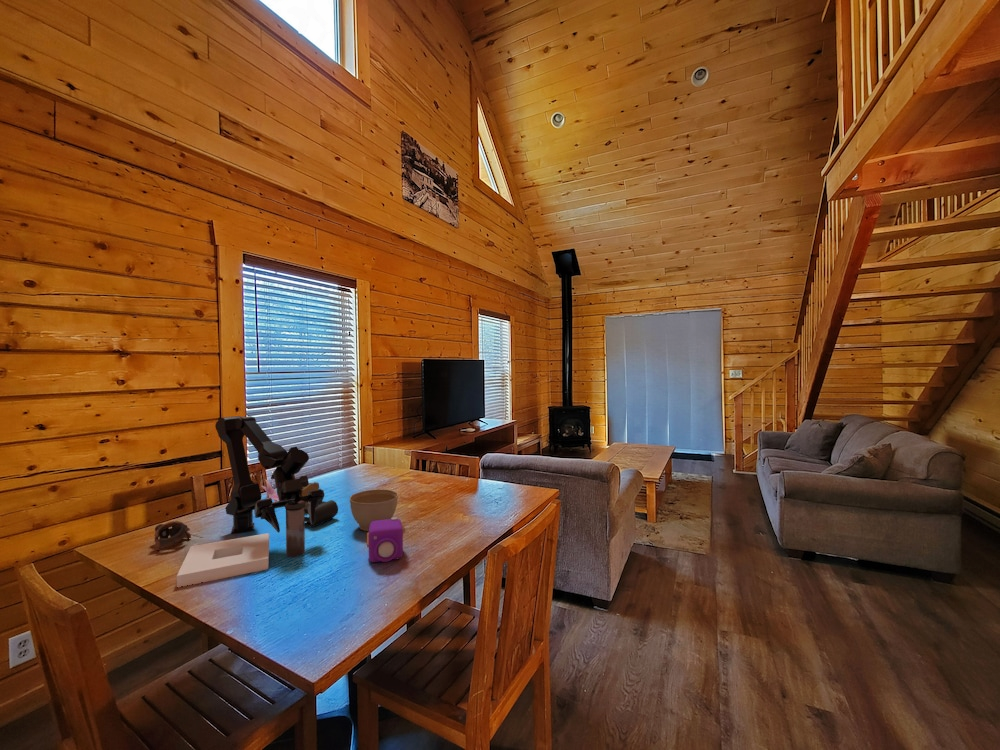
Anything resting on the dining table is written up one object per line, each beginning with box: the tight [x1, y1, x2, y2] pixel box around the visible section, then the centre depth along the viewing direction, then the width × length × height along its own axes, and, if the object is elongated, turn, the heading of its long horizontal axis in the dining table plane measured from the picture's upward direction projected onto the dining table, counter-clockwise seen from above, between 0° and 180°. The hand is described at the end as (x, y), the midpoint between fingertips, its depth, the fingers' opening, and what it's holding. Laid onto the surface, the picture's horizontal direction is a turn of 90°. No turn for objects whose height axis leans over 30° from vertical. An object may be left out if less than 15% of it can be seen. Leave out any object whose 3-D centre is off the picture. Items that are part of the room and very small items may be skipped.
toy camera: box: [366, 516, 404, 563], centre depth 119 cm, size 11×14×10 cm
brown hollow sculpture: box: [154, 520, 192, 551], centre depth 128 cm, size 12×10×8 cm
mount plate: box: [176, 532, 270, 588], centre depth 116 cm, size 20×20×3 cm
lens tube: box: [284, 501, 306, 558], centre depth 122 cm, size 5×5×15 cm
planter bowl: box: [349, 488, 399, 532], centre depth 143 cm, size 16×16×11 cm
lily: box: [261, 479, 279, 502], centre depth 166 cm, size 12×12×10 cm
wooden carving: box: [300, 481, 320, 507], centre depth 163 cm, size 16×5×10 cm, turn 172°
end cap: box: [305, 499, 339, 528], centre depth 147 cm, size 10×7×7 cm
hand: (296, 527), depth 122 cm, fingers open, 9 cm apart
